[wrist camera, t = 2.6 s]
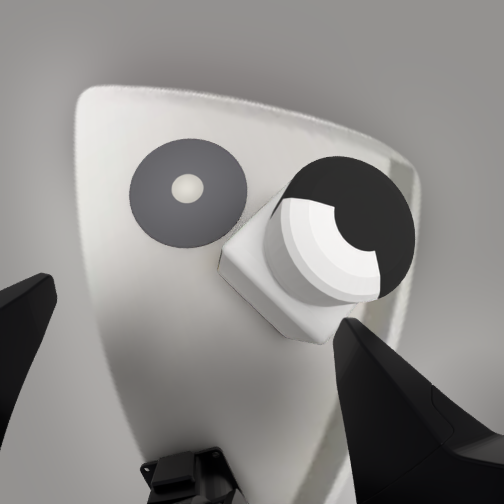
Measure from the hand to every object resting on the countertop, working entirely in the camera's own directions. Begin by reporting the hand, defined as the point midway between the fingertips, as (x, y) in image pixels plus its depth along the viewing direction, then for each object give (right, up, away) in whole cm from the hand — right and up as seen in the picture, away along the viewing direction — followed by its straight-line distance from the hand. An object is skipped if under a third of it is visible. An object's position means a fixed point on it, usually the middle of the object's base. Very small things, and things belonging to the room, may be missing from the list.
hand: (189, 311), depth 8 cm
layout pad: (-3, +6, +14) cm, 16 cm away
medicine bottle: (+4, 0, +14) cm, 15 cm away
